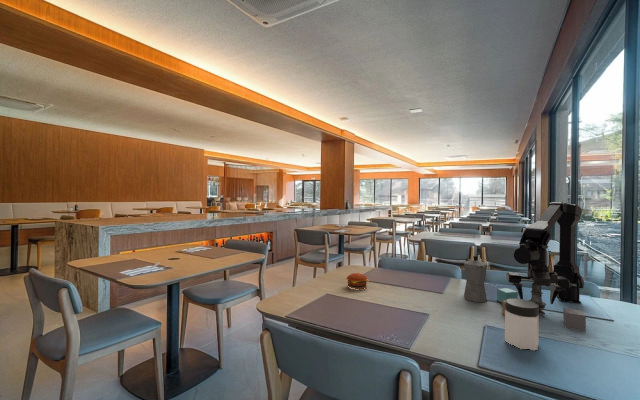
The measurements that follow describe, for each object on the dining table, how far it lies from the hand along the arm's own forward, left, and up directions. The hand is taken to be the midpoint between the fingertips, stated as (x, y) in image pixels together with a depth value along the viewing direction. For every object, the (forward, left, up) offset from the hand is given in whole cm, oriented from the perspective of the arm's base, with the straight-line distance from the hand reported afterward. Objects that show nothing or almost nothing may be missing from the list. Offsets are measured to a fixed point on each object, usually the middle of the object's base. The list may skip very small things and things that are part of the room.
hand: (536, 302), depth 112 cm
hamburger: (+70, -5, -4) cm, 70 cm away
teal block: (+8, -8, -4) cm, 12 cm away
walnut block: (+9, +8, -4) cm, 13 cm away
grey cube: (-8, +10, -4) cm, 13 cm away
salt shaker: (0, 0, -4) cm, 4 cm away
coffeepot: (+20, -9, -4) cm, 22 cm away
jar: (+11, +30, -4) cm, 32 cm away
